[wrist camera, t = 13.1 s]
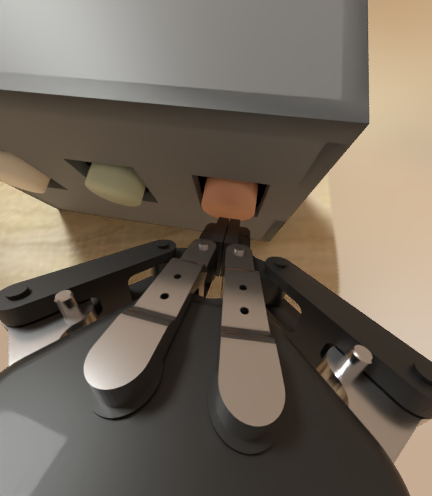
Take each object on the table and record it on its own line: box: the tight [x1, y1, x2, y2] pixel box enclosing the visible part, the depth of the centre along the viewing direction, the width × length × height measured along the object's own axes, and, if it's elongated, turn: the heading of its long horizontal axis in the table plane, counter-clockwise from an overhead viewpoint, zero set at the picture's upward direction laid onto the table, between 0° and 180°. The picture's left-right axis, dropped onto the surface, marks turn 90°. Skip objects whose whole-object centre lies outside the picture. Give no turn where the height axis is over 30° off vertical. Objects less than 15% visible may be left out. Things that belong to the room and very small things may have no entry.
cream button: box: [0, 151, 51, 193], centre depth 16 cm, size 7×4×4 cm, turn 170°
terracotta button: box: [201, 177, 259, 221], centre depth 15 cm, size 7×4×4 cm, turn 170°
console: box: [0, 0, 369, 241], centre depth 17 cm, size 10×28×16 cm, turn 80°
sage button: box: [85, 162, 146, 207], centre depth 15 cm, size 7×4×4 cm, turn 170°
